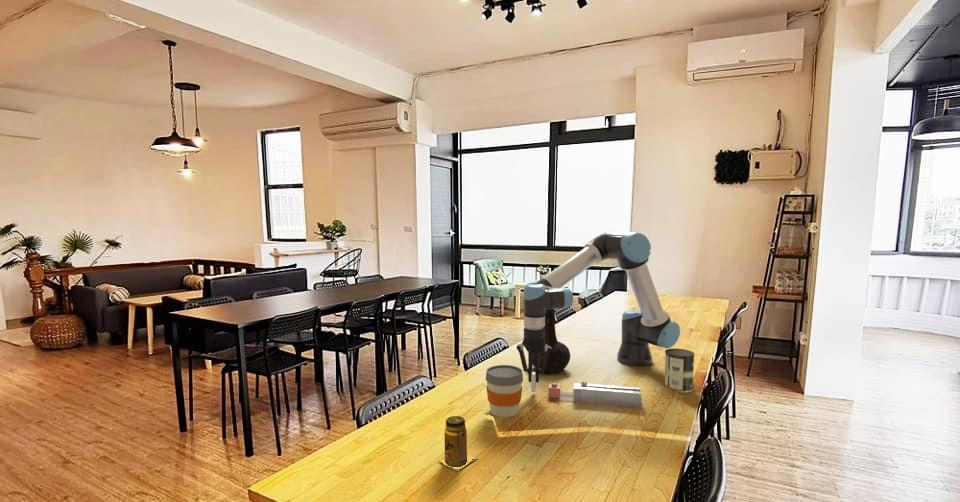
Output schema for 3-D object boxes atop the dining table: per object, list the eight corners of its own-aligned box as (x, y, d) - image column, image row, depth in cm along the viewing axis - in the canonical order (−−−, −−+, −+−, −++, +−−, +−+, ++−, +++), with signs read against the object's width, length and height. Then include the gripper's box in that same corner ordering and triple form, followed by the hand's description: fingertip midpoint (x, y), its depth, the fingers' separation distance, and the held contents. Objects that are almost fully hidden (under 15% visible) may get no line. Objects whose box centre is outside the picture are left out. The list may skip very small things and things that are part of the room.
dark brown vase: (552, 380, 182) (552, 312, 180) (520, 369, 195) (520, 305, 193) (578, 370, 194) (579, 306, 191) (546, 360, 207) (547, 300, 205)
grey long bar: (573, 396, 163) (574, 383, 162) (639, 402, 158) (639, 388, 157) (573, 402, 158) (573, 388, 157) (641, 408, 153) (641, 394, 152)
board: (548, 393, 169) (548, 390, 169) (641, 401, 161) (641, 398, 161) (546, 403, 160) (546, 400, 160) (644, 412, 152) (644, 409, 152)
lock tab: (549, 392, 166) (549, 381, 165) (560, 393, 165) (560, 382, 164) (548, 397, 162) (548, 385, 161) (559, 398, 161) (559, 386, 160)
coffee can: (689, 383, 178) (690, 348, 177) (696, 393, 168) (697, 357, 167) (661, 381, 180) (662, 347, 179) (667, 391, 170) (668, 355, 169)
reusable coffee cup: (526, 409, 155) (526, 366, 154) (517, 425, 144) (517, 379, 142) (492, 404, 159) (492, 363, 158) (480, 419, 148) (480, 375, 146)
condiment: (438, 462, 122) (437, 420, 121) (459, 450, 129) (458, 409, 128) (457, 472, 118) (457, 428, 117) (478, 459, 124) (478, 417, 123)
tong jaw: (581, 396, 162) (581, 381, 161) (639, 401, 158) (639, 385, 157) (581, 399, 160) (581, 383, 159) (640, 403, 156) (640, 387, 155)
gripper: (514, 328, 161) (514, 392, 163) (551, 331, 158) (550, 396, 160) (517, 323, 168) (517, 385, 170) (553, 325, 165) (552, 388, 167)
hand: (533, 390), depth 165 cm, fingers closed
